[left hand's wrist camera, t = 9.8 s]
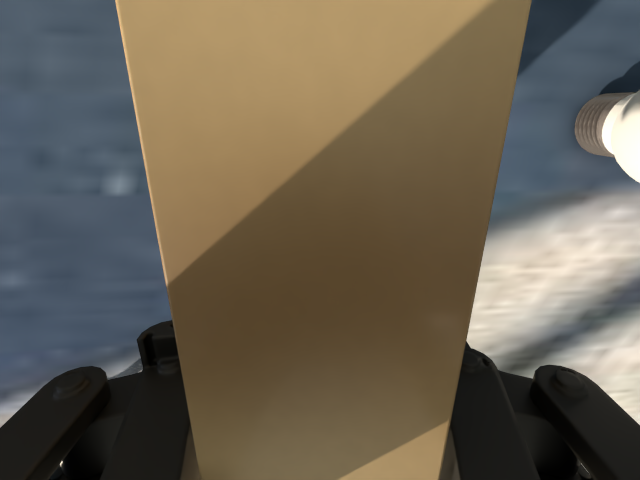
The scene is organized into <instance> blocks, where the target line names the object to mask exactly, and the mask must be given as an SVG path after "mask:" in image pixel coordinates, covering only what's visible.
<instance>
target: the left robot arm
mask: <svg viewBox="0 0 640 480" xmlns="http://www.w3.org/2000/svg"><path fill="white" fill-rule="evenodd" d="M137 343H138V347H139V352H140V356H141V360H142V364H143V370H142V372H139V373H136V374H133V375H129V376H124V377H120V378H115V379H111V380H108V379H107V376H106V372H105V371H103V370H102V369H101V368H98V367H93V366H89V367H80V368H77V369H73V370H70V371H67V372H65V373H63V374H61V375H59V376H57V377H55V378H54V379H52V380H51V381H50V382H49V383H47V384H46V385H45V386H43V387H42V388H41V389H40V390H39V391H38V392H37V393H36V394H35V395H34V396H33V397H32V398H31V399H30V400H29V401H28V402H27V403H26V404H25V405H24V406H23V407H22V408H21V409H20V410H18V411H17V412H16V413H15V414H14V415H13V416H12V417H11V418H10V419H9V420H8V421H7V422H6V423H5V424H4V425H3V426H2V427H1V428H0V480H201V478H200V473H199V467H198V462H197V456H196V450H195V445H194V439H193V433H192V428H191V422H190V417H189V411H188V405H187V400H186V394H185V389H184V383H183V377H182V372H181V366H180V360H179V355H178V349H177V344H176V338H175V332H174V327H173V321H172V320H171V321H166V322H161V323H159V324H156V325H154V326H152V327H150V328H148V329H147V330H145V331H144V332H142V333H141V335H140V336H139V337H138V339H137ZM581 463H582V465H583V466H584V467H585V468H586V470H587V471H588V472H589V473H588V472H587V471H586V470H585V468H584V467H583V466H582V465H581ZM58 466H59V467H58ZM57 467H58V468H57ZM55 470H56V471H55ZM54 471H55V472H54ZM439 480H640V425H639V424H638V423H637V422H636V421H635V420H634V419H633V418H631V417H630V416H629V415H628V414H627V413H626V412H625V411H624V410H623V409H622V408H621V407H620V406H619V405H618V404H617V403H616V402H615V401H614V400H613V399H612V398H611V397H609V396H608V395H607V394H606V393H605V392H604V391H603V390H602V389H601V388H600V387H599V386H598V385H597V384H596V383H594V382H593V381H592V380H590V379H589V378H588V377H586V376H585V375H583V374H581V373H579V372H577V371H575V370H572V369H569V368H566V367H562V366H556V365H545V366H540V367H539V368H538V369H537V370H536V371H535V374H534V377H533V379H532V378H527V377H523V376H518V375H514V374H509V373H506V372H502V371H499V370H498V369H497V367H496V366H495V364H494V363H493V361H492V360H491V359H490V358H488V357H487V356H486V355H485V354H483V353H481V352H479V351H477V350H475V349H471V348H470V346H469V345H468V343H467V341H466V344H465V349H464V354H463V360H462V365H461V370H460V375H459V380H458V386H457V391H456V396H455V401H454V406H453V412H452V417H451V422H450V427H449V432H448V438H447V443H446V448H445V453H444V458H443V464H442V469H441V474H440V479H439Z"/></svg>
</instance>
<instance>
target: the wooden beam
mask: <svg viewBox="0 0 640 480" xmlns="http://www.w3.org/2000/svg"><path fill="white" fill-rule="evenodd" d="M115 1H116V6H117V12H118V18H119V23H120V29H121V35H122V40H123V46H124V51H125V57H126V63H127V68H128V74H129V80H130V85H131V91H132V96H133V102H134V108H135V113H136V119H137V124H138V130H139V136H140V141H141V147H142V153H143V158H144V164H145V169H146V175H147V181H148V186H149V192H150V197H151V203H152V209H153V214H154V220H155V226H156V231H157V237H158V242H159V248H160V254H161V259H162V265H163V271H164V276H165V282H166V287H167V293H168V299H169V304H170V310H171V315H172V321H173V327H174V332H175V338H176V344H177V349H178V355H179V360H180V366H181V372H182V377H183V383H184V389H185V394H186V400H187V405H188V411H189V417H190V422H191V428H192V433H193V439H194V445H195V450H196V456H197V462H198V467H199V473H200V478H201V480H439V479H440V474H441V469H442V464H443V458H444V453H445V448H446V443H447V438H448V432H449V427H450V422H451V417H452V412H453V406H454V401H455V396H456V391H457V386H458V380H459V375H460V370H461V365H462V360H463V354H464V349H465V344H466V339H467V334H468V328H469V323H470V318H471V313H472V308H473V302H474V297H475V292H476V287H477V282H478V276H479V271H480V266H481V261H482V256H483V250H484V245H485V240H486V235H487V230H488V224H489V219H490V214H491V209H492V204H493V198H494V193H495V188H496V183H497V178H498V172H499V167H500V162H501V157H502V152H503V146H504V141H505V136H506V131H507V126H508V120H509V115H510V110H511V105H512V100H513V94H514V89H515V84H516V79H517V74H518V68H519V63H520V58H521V53H522V48H523V42H524V37H525V32H526V27H527V22H528V16H529V11H530V6H531V1H532V0H115Z"/></svg>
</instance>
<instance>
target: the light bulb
mask: <svg viewBox="0 0 640 480" xmlns="http://www.w3.org/2000/svg"><path fill="white" fill-rule="evenodd" d="M575 135H576V138H577V141H578V143H579V144H580V146H581V147H582V148H583V149H585V150H586V151H588V152H590V153H592V154H597V155H603V156H608V157H614V158H616V161H617V162H618V164H619V165H620V166H621V167H622V169H623V170H624V171H625V172H626V173H627V174H628V175H629V176H631V177H632V178H633V179H634V180H636V181H638V182H639V183H640V90H639V91H638V92H631V93H611V94H602V95H599V96H596V97H594V98H592V99H591V100H590V101H588V102H587V103H586V104H585V105H584V106H583V107H582V109H581V110H580V112H579V114H578V116H577V119H576V122H575Z"/></svg>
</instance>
